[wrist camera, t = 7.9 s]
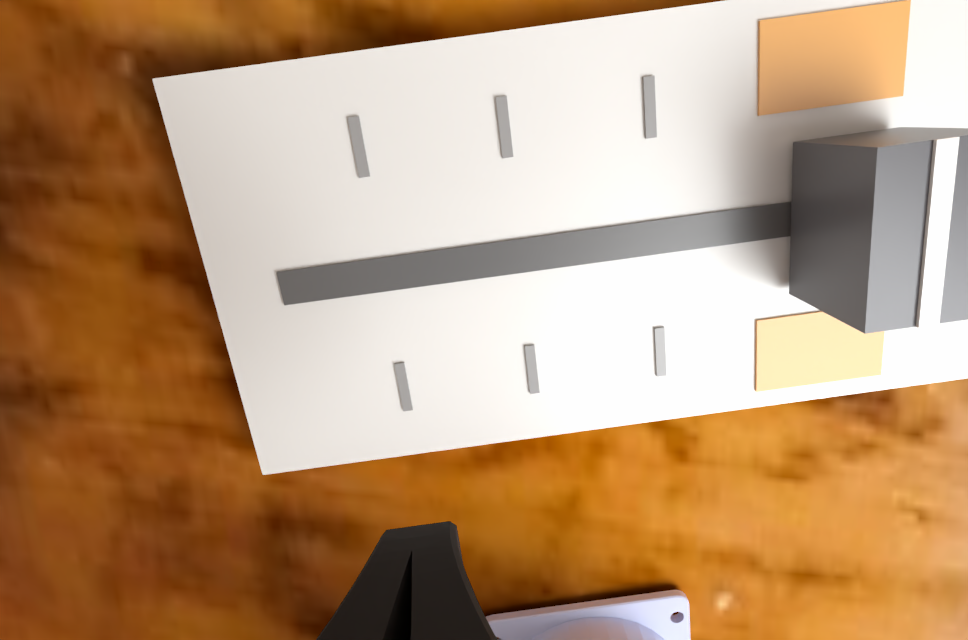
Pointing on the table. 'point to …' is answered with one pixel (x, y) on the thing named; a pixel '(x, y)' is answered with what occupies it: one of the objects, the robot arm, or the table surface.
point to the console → (546, 222)
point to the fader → (882, 227)
